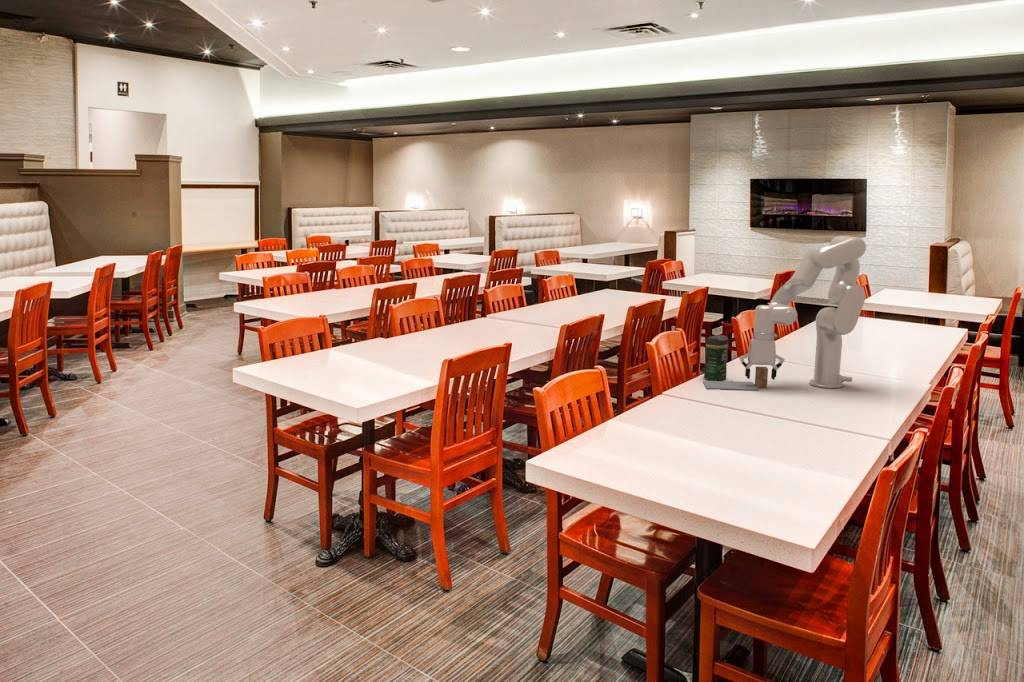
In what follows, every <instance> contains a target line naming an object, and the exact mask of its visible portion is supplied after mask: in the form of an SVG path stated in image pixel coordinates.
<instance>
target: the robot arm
mask: <svg viewBox="0 0 1024 682" xmlns="http://www.w3.org/2000/svg"><path fill="white" fill-rule="evenodd" d="M866 250H867V244H866V242H865V240H864V239H863V238H861V237H858V236H849V235H837V236H835V237H833V238H832V239H831V240H830V242H829V245H828V246H827V245H826V246H824V245H813V246H810V247H809V248H808V249H807V251H806V252H805V254H804V256H803V257H802V259H801V261H800V262H799V264H798V266H797V268H796V269H795V270H794V273H793V274H792V276H791V278H789V279H788V280H787V281H786V282H785V283H784V284H783V285H782V286H781V287H779V289H778V290H777V291H776V292H775V294H774V295H773V297H772V298H771V300H770V303H769V304H768V305H766V304H759V305H757V306H756V307H755V309H754V310H755V312H754V324H753V338H751V339H750V342H749V346H748V353H746V354H743V355H742V356H738V357H739V361H740V362H741V364H742V366H743V367H744V368H745V375H744V376H745V377H746V378H747V379H748V380H750V378H751V367H752V366H753V365H755V366H756V365H757V366H771V367H772V369H771V376H770V377H771V380H773V381H775V378H777V371H778V370H779V368H780V367H782V365H783V364H784V362H785V361H786V359H785V358H784V357H782V356H780V355H778V354H776V353H777V352H776V351H777V349H776V341H775V338H778V334H777V333H775V324H776V325H783V326H787V325H791V324H794V323H795V322H796V320H797V319H798V311H797V310H796V309H795V308H794V307H793V306H790V304H791V303H792V301H793V300H794V299H795V298H796V297H797V296H799V295H800V294H802V293H805V292H807V291H809V290H811V289H812V288H813V286H814V285H815V282H816V281H817V279H818V277H819V276H820V274H821V272H822V271H823V269H825V270H828V269H833V268H835V273H834V276H833V277H832V281H831V283H830V287H829V289H828V292H827V298H828V301H829V302H830V303H832V304H833V305H836V306H837V307H832V306H830V307H828V306H827V307H823V308H821V309H820V310H819V311H818V313H817V314H816V316H815V329H816V342H815V343H816V344H815V345H816V346H815V354H814V357H815V359H814V371H813V379H810V380H809V385H811V386H813V387H817V388H823V389H839V388H843V387H844V382H848V383H852V381H853V377H852V376H845V375H841V360H842V348H843V337H842V336H845V335H848V334H850V333H852V332H853V330H854V329H855V328H856V326H857V324H858V320H859V318H860V314H861V313H862V309H863V306H864V304H865V300H866V293H865V290H864V288H863V287H862V286H861V285H859V284H857V281H858V278H859V275H860V270H861V269H860V268H861V266H860V262H859V259H860V258H861V257H863V255H864V254H865V252H866ZM745 359H747V363H746V362H745ZM776 359H777V360H778V362H777V361H776ZM776 362H777V363H776Z"/></svg>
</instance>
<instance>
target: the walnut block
mask: <svg viewBox="0 0 1024 682" xmlns="http://www.w3.org/2000/svg"><path fill="white" fill-rule="evenodd" d="M754 373H755V375H754V384H755V385H756V387H757V388H758V389H768V379H769V378H768V376H769V374H768V373H769V368H768V367H767V366H755V372H754Z"/></svg>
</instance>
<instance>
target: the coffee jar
mask: <svg viewBox="0 0 1024 682" xmlns="http://www.w3.org/2000/svg"><path fill="white" fill-rule="evenodd" d="M728 347H729V338H728V336H727V335H722V334H717V335H712V336H708V337H706V341H705V350H706V351H705V363H704V373H703V375H704V376H703V377H704V379H706V380H707V381H717V380H719V381H724V380H725V379H727V369H728V367H727V366H728V365H727V362H728V361H727V360H728V359H727V358H728Z"/></svg>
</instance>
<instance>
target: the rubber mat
mask: <svg viewBox="0 0 1024 682" xmlns="http://www.w3.org/2000/svg"><path fill="white" fill-rule="evenodd" d="M702 383H703V385H704V387H705V389H706V390H709V389H720V390H721V391H747V392H748V391H750V392H751V391H752V392H757V391H758V392H759V389H760V388H757V387H756V385H755V382H753V381H736V380H735V381H734V380H719V381H717V380H702ZM720 390H719V391H720Z"/></svg>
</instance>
